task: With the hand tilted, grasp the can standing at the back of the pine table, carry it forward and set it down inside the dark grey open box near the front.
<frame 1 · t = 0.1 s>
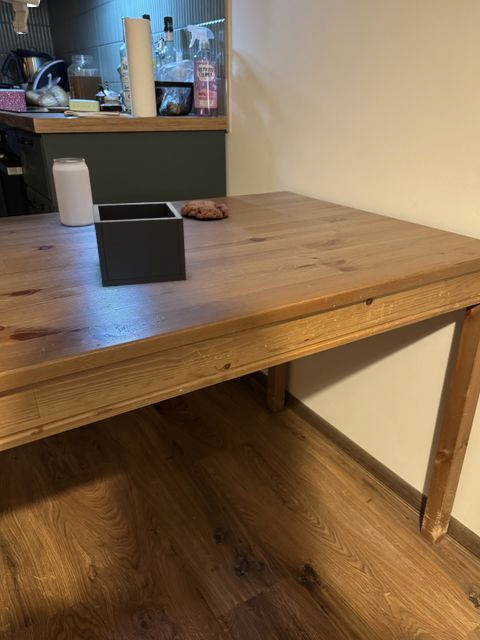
hand: (4, 30, 86), 33 cm above the table, tool pointing down, fingers open, 8 cm apart
can: (78, 224, 100), on the table
cookie: (204, 216, 109), on the table
dark grey open box: (141, 270, 75), on the table
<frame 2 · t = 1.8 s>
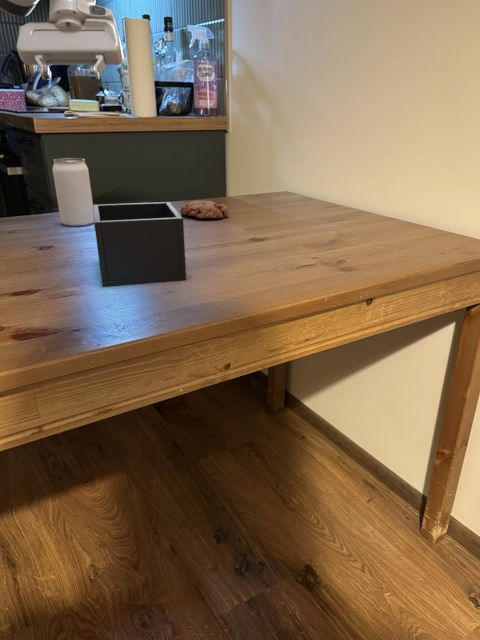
hand: (70, 77, 98), 26 cm above the table, tool tilted 45°, fingers open, 8 cm apart
nothing on the table moved.
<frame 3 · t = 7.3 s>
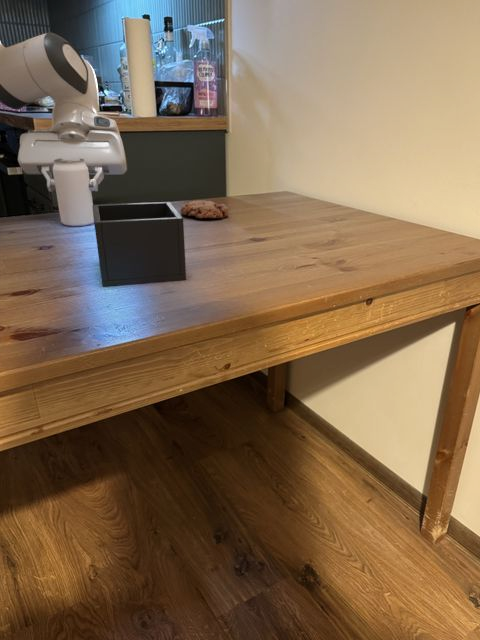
hand: (73, 189, 97), 7 cm above the table, tool tilted 45°, fingers closed on can, 6 cm apart
can: (78, 224, 100), on the table, touching gripper
everything else where it was.
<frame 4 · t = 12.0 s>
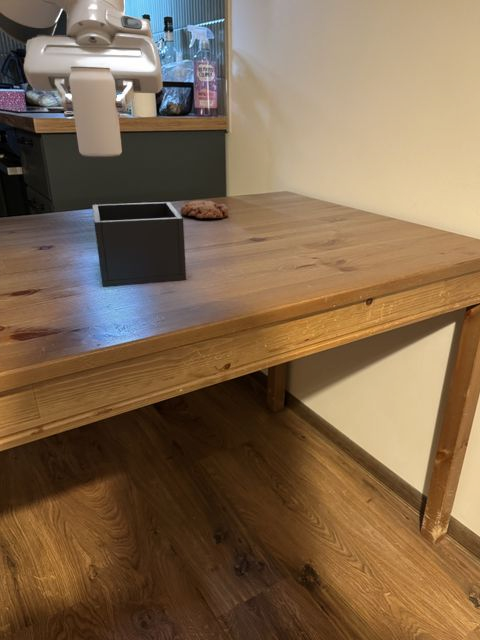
hand: (95, 108, 75), 22 cm above the table, tool tilted 45°, fingers closed on can, 6 cm apart
can: (101, 156, 78), point 15 cm above the table, touching gripper
everything else where it was.
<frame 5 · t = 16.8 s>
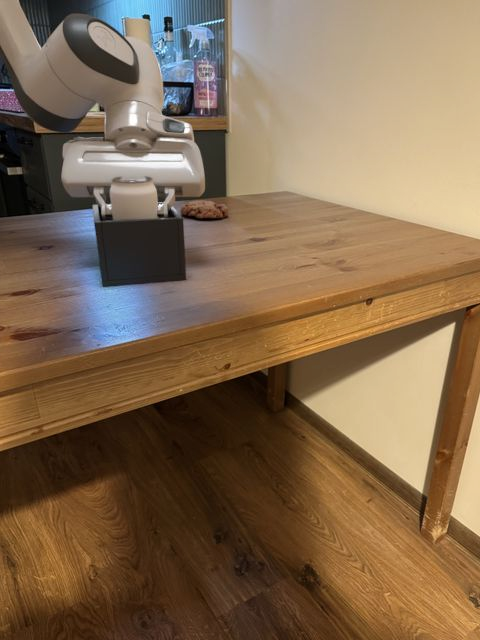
hand: (135, 219, 71), 8 cm above the table, tool tilted 45°, fingers closed on can, 6 cm apart
can: (140, 263, 74), point 1 cm above the table, touching gripper
everything else where it was.
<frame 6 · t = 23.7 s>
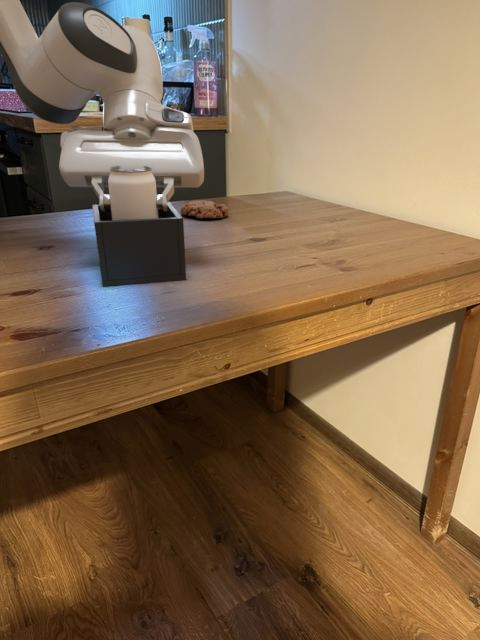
hand: (134, 209, 70), 9 cm above the table, tool tilted 45°, fingers closed on can, 6 cm apart
can: (138, 254, 74), point 2 cm above the table, touching gripper
everything else where it was.
when the fingers open (10 cm above the table, at t = 29.9 s): can drops 2 cm, resting on dark grey open box.
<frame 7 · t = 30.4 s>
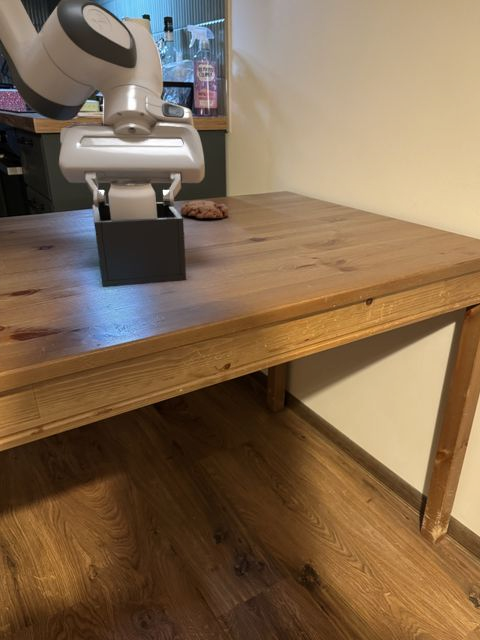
hand: (134, 204, 70), 10 cm above the table, tool tilted 45°, fingers open, 8 cm apart
can: (139, 266, 75), point 1 cm above the table, touching dark grey open box
everything else where it was.
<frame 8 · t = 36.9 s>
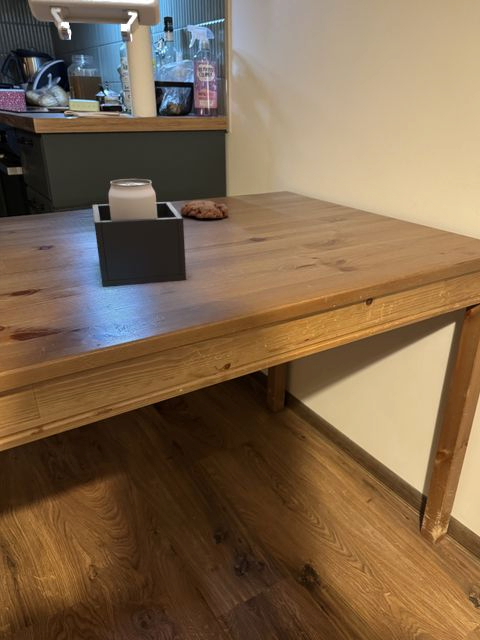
hand: (95, 37, 78), 31 cm above the table, tool tilted 45°, fingers open, 8 cm apart
nothing on the table moved.
at the end: can inside the target area in the dark grey open box (0.3 cm from its centre), point 0.6 cm above the dark grey open box's base; the gripper is holding nothing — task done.
